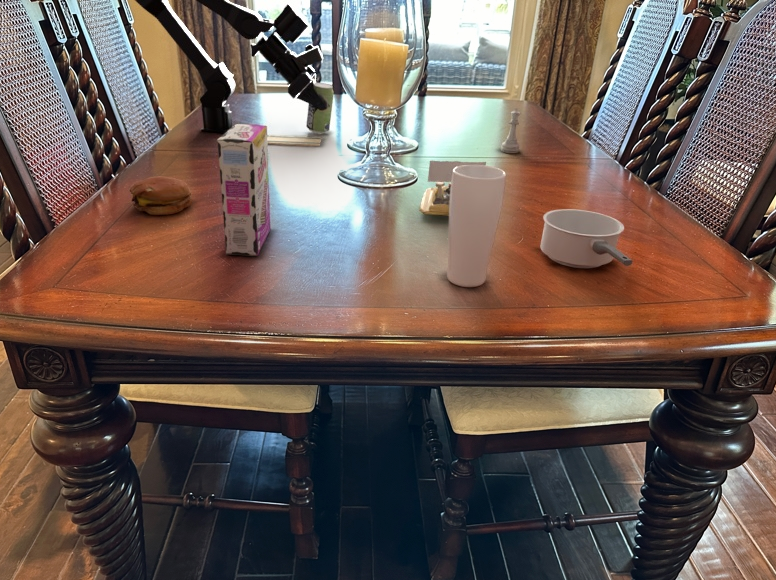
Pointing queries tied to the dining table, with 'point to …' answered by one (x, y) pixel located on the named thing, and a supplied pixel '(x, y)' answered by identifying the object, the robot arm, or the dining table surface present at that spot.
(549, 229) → the saucepan
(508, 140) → the chess piece
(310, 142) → the towel
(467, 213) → the drinking glass
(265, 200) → the white pink box
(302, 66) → the robot arm
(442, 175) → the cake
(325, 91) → the beverage can
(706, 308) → the dining table surface
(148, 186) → the burger
